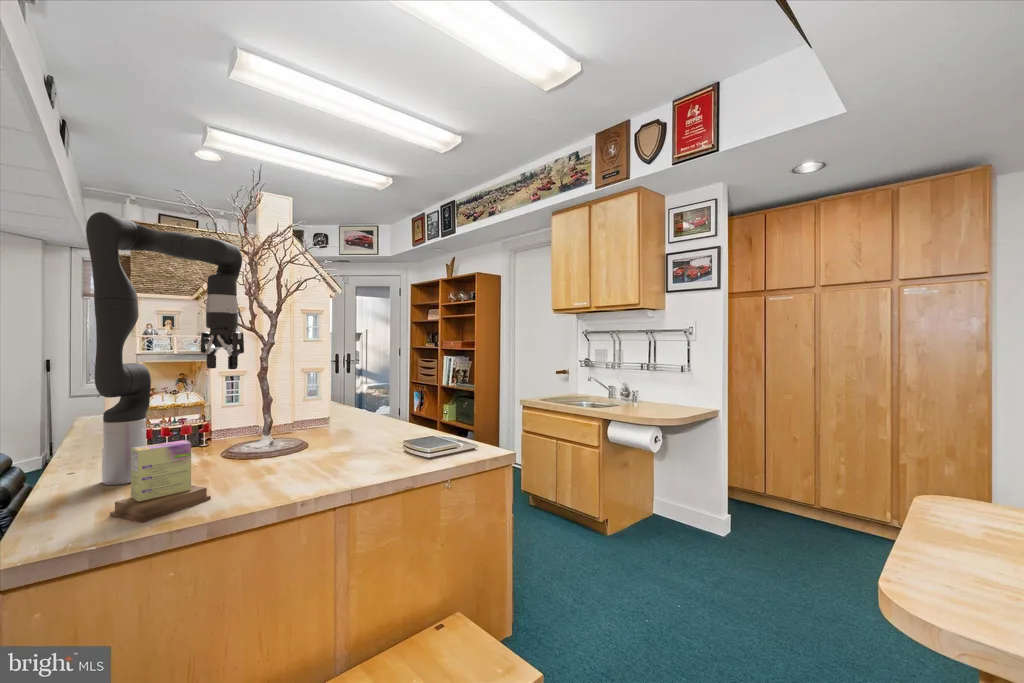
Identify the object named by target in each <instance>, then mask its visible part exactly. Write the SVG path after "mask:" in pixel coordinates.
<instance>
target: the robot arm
mask: <svg viewBox="0 0 1024 683" xmlns="http://www.w3.org/2000/svg"><path fill="white" fill-rule="evenodd" d="M85 233H86V234H85V235H86V242H87V247H88V250H89V257H90V262H91V269H92V279H93V301H94V304H93V305H94V317H95V327H96V328H95V332H96V339H95V340H96V348H95V350H96V351H95V362H94V385H95V386H94V387H95V389H96V390H97V392H98V394H99V395H101V396H102V397H104V398H110V399H111V398H119V400H118V402H117V403H116V404H115V405H114V406H112V407H110V408H109V409H107V410H105V411H104V412H103V414H102V416H103V417H102V418H103V419H102V422H103V424H102V425H103V426H102V430H103V433H102V436H103V438H102V439H103V440H102V442H103V447H102V450H101V451H102V455H101V456H102V458H101V459H102V470H101V472H102V473H101V475H102V477H101V479H102V480H101V481H102V484H103V485H106V486H107V485H108V486H117V485H125V484H131V448H133V447H140V446H147V412H148V410H149V408H150V404H151V403H150V401H151V389H152V388H151V386H152V380H151V379H152V378H151V373H150V371H149V369H148V367H147V366H145V365H144V364H142V363H138V362H135V363H134V362H133V363H124V361H123V356H124V355H123V354H124V353H123V352H124V346H125V343H126V341H127V339H128V337H129V335H130V334H131V333H132V331H133V330H134V328H135V326H136V324H137V322H138V319H139V301H138V300H139V298H138V294H137V291H136V289H135V287H134V285H133V283H132V282H131V280H130V279H129V277H128V276H127V274H126V273H125V270H124V268H123V266H122V264H121V260H120V253H119V252H120V251H139V252H140V251H143V252H145V251H146V252H153V253H154V252H155V253H159V254H163V255H167V256H170V257H174V258H178V259H179V258H180V259H185V260H189V261H199V262H203V263H205V264H206V263H207V264H210V265H215V266H217V269H216V273H214V274H211V275H209V276H208V277H207V280H206V281H207V286H206V290H207V292H206V294H207V295H206V302H205V326H206V328H207V329H209V332H208V331H206V332H205V331H204V332H203V331H202V332H201V333H200V334H201V335H200V336H201V337H200V353H201V354H205V356H206V368H207V369H208V370H209V369H216V368H217V355H216V354H217V353H218V351H219V350H221V348H223V349H224V350H225V351H226V352H227V354H228V356H227V368H228V370H237V369H238V365H239V364H238V362H239V360H238V357H239V355H241V354H244V353H245V342H244V332H242V331H235V330H236V329H238V326H239V318H238V317H239V313H238V312H239V310H238V309H239V308H238V306H239V305H238V297H237V296H238V295H237V294H238V292H237V291H238V290H237V289H238V288H237V286H238V285H237V284H238V279H239V276H240V272H241V269H242V265H243V255H242V252H241V249H240V248H239V247H238V246H237V245H235V244H233V243H230V242H227V241H224V240H221V239H217V238H214V237H213V238H212V237H205V236H197V235H193V234H188V233H182V232H179V231H178V232H176V231H163V230H162V231H161V230H156V229H153V228H149V227H146V226H143V225H141V224H139V223H136V222H134V221H132V220H130V219H127V218H124V217H121V216H118V215H115V214H112V213H108V212H104V211H99V212H95V213H93V214H91V216H89V218H88V219H87V223H86V226H85Z"/></svg>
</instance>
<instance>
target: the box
mask: <svg viewBox="0 0 1024 683" xmlns="http://www.w3.org/2000/svg"><path fill="white" fill-rule="evenodd" d="M191 485H192V442H190V441H187V440H184V439H182V440H176V441H170V442H163V443H156V444H149V445H147V444H146V446H140V447H133V448H131V483H130V497H131V498H133V499H135V500H136V501H138V502H140V501H144V500H149V499H153V498H157V497H162V496H166V495H171V494H176V493H181V492H185V491H190V490H191Z"/></svg>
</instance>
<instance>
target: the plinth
mask: <svg viewBox="0 0 1024 683" xmlns="http://www.w3.org/2000/svg"><path fill="white" fill-rule="evenodd" d="M207 488H208V487H205V486H204V487H203V486H198V485H192V484H191V490H190V491H185V492H181V493H176V494H171V495H166V496H162V497H157V498H153V499H149V500H144V501H140V502H138V501H136V500H135V499H133V498H131V496H130V497H128V498H123V499H120V500H117V501H114V510H113V511H110V512H109V516H110V517H114V518H120V519H123V520H129V521H132V522H137V523H145V522H148V521H151V520H154V519H157V518H160V517H163V516H165V515H168V514H172V513H174V512H177V511H180V510H183V509H186V508H190V507H192V506H196V505H198V504H201V503H204V502H206V501H209V500H212V499H211V498H212V497H211V495H207V494H208V492H207V490H208V489H207Z"/></svg>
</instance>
